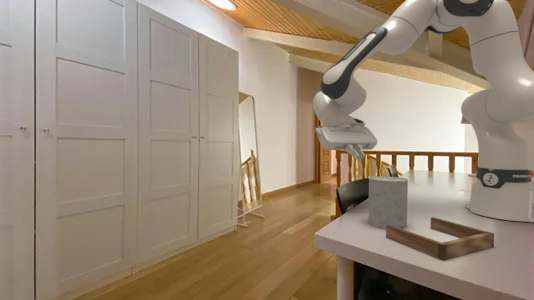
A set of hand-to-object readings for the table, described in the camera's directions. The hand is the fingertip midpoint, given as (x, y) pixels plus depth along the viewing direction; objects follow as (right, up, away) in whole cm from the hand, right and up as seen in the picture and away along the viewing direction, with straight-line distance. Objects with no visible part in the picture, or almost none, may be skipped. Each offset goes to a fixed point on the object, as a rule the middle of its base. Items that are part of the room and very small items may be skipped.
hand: (360, 157), depth 79 cm
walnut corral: (+9, -18, -21) cm, 29 cm away
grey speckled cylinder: (+4, -18, -9) cm, 20 cm away
